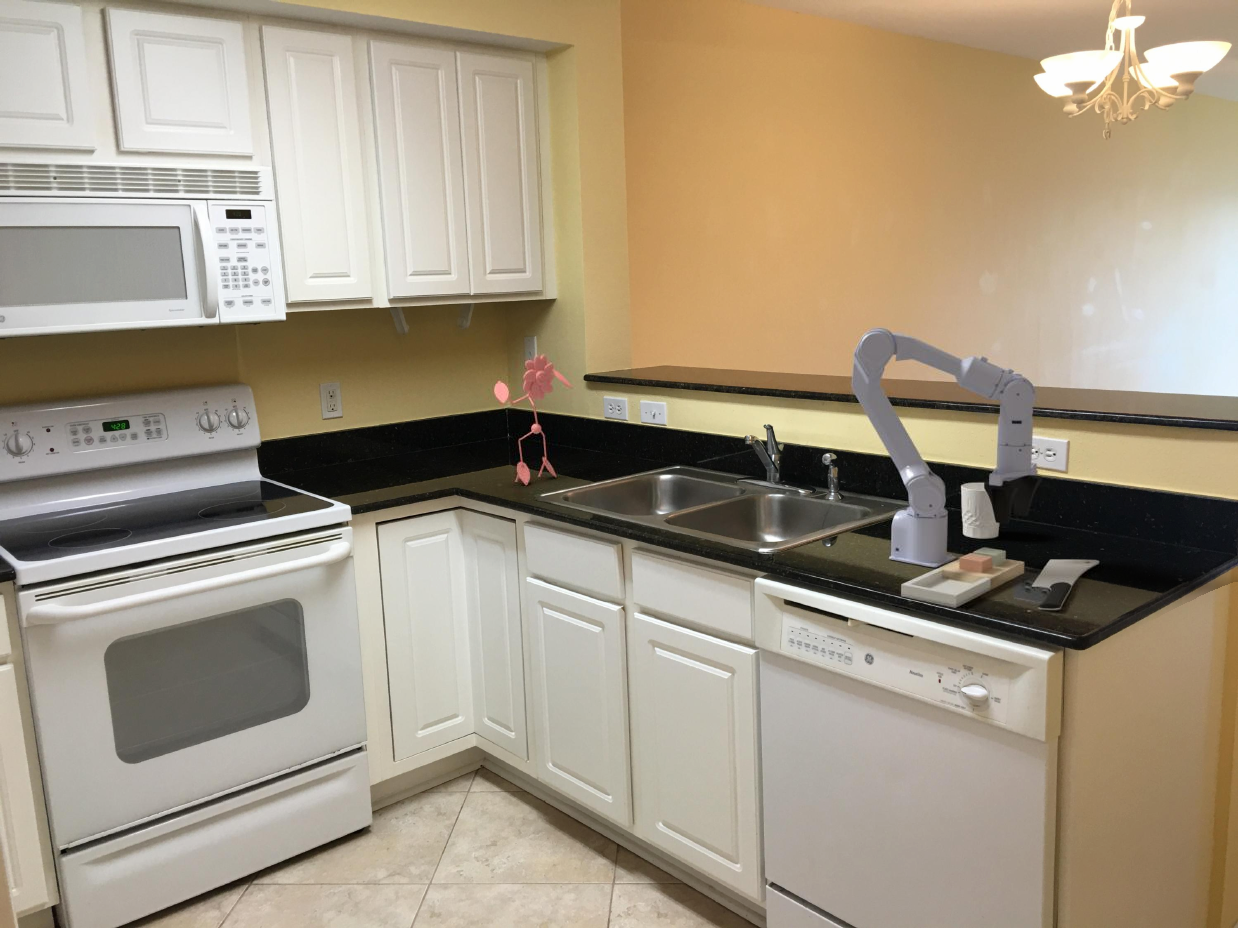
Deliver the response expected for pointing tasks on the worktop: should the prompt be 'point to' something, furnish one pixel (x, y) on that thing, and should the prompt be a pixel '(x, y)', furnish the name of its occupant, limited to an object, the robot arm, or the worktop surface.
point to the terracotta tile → (975, 563)
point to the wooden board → (984, 573)
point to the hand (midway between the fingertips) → (1011, 519)
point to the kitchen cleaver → (1060, 580)
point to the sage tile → (993, 555)
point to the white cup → (977, 512)
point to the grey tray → (943, 589)
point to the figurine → (537, 385)
